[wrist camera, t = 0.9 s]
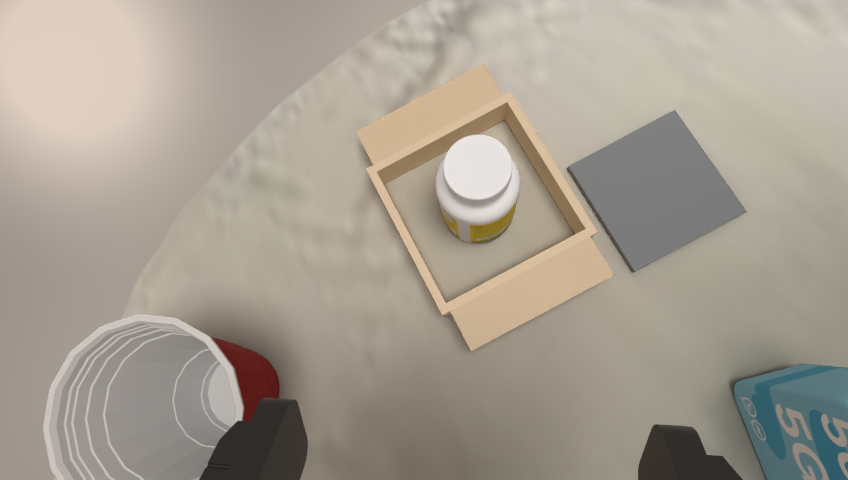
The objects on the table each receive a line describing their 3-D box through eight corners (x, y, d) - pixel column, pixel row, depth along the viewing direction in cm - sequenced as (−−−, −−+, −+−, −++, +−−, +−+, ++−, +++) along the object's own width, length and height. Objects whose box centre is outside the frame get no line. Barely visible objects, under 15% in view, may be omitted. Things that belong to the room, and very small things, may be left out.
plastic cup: (208, 497, 36) (77, 577, 24) (155, 362, 38) (12, 375, 26) (339, 425, 36) (271, 469, 24) (278, 294, 38) (189, 276, 26)
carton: (489, 79, 40) (490, 59, 37) (610, 276, 36) (622, 270, 33) (357, 150, 40) (348, 135, 37) (464, 353, 36) (463, 355, 33)
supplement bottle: (524, 191, 38) (540, 142, 28) (496, 255, 37) (503, 228, 27) (459, 166, 38) (453, 110, 29) (431, 228, 38) (415, 192, 28)
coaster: (671, 113, 37) (674, 110, 37) (742, 213, 35) (746, 211, 35) (567, 169, 37) (568, 166, 37) (632, 272, 36) (634, 271, 35)
